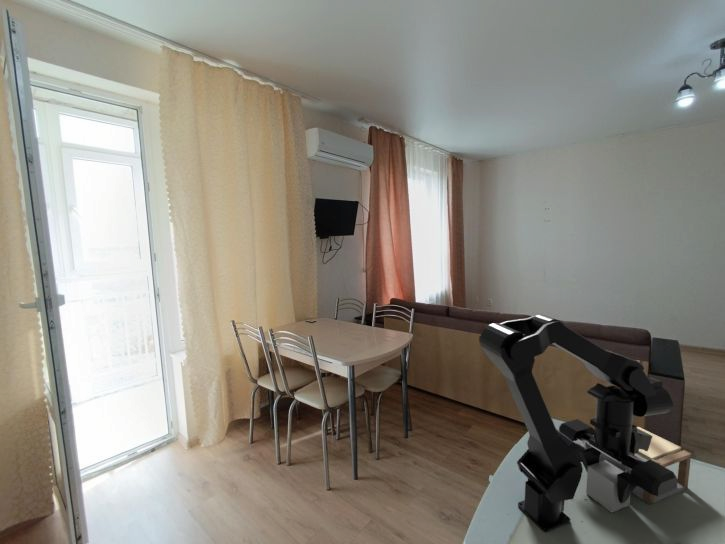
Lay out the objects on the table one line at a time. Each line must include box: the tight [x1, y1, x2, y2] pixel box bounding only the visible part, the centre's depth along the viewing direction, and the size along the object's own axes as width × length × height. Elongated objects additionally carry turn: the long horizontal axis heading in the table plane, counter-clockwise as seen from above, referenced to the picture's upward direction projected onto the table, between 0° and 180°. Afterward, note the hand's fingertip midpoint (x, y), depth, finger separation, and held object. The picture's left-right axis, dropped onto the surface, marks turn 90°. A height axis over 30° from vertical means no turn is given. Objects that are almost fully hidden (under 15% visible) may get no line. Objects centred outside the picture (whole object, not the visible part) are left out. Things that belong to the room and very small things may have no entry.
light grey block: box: [585, 460, 631, 513], centre depth 65 cm, size 5×5×6 cm
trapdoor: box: [599, 426, 682, 472], centre depth 71 cm, size 13×8×6 cm, turn 109°
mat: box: [631, 455, 686, 505], centre depth 72 cm, size 12×11×1 cm
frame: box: [630, 449, 692, 505], centre depth 71 cm, size 12×11×8 cm
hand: (607, 492), depth 66 cm, fingers closed on light grey block, 5 cm apart
